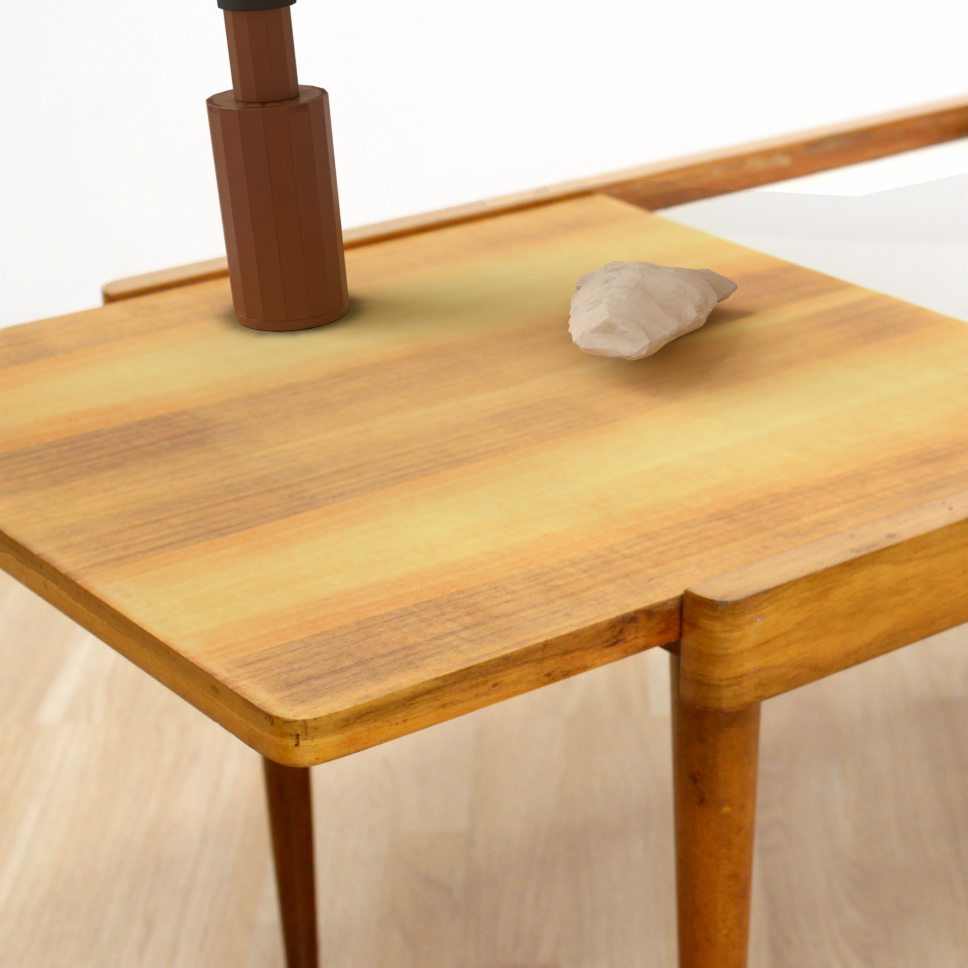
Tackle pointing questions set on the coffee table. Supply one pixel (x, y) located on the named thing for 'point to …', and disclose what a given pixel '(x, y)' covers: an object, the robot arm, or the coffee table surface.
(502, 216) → the coffee table surface
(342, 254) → the bottle
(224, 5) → the bung
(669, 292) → the decorative stone
